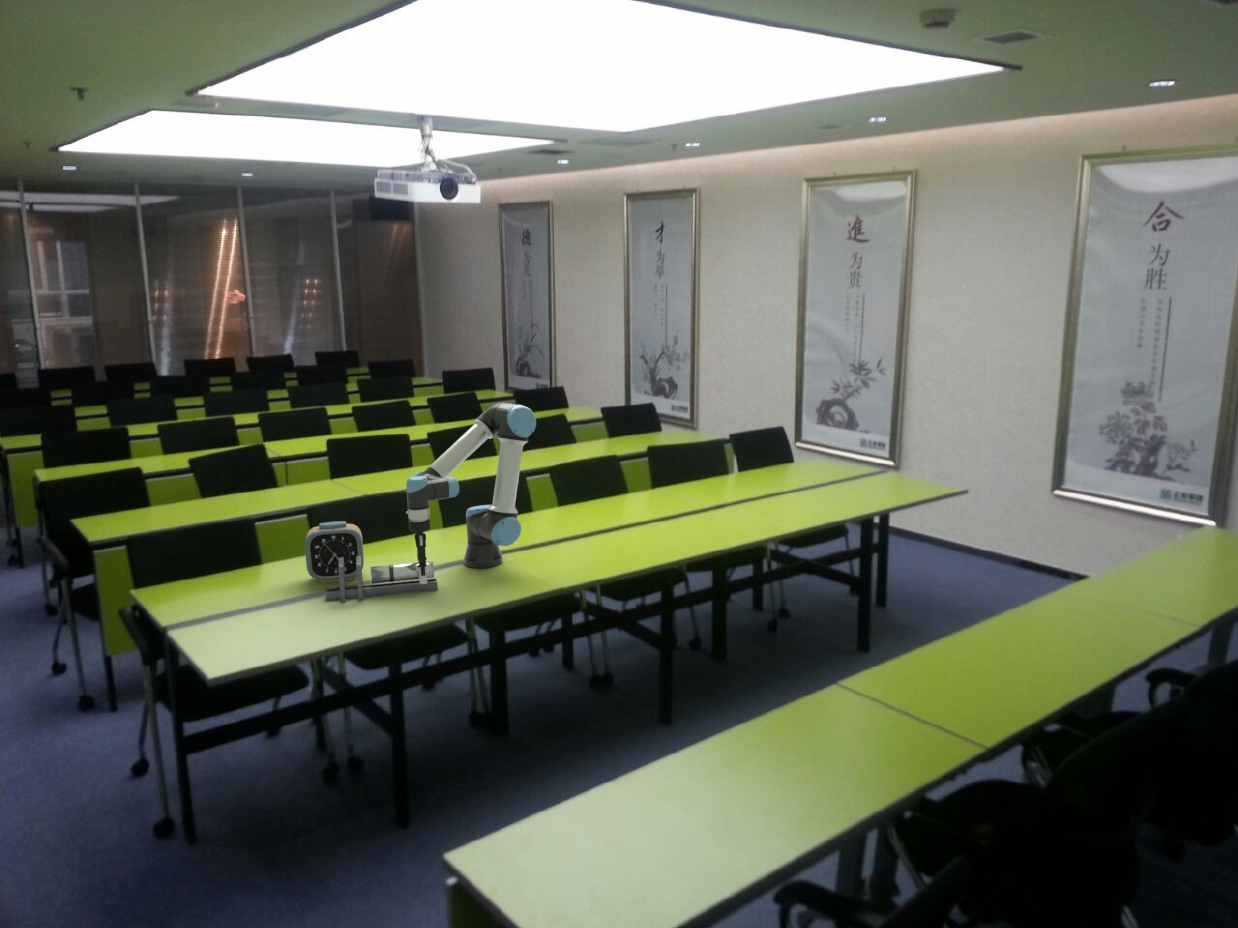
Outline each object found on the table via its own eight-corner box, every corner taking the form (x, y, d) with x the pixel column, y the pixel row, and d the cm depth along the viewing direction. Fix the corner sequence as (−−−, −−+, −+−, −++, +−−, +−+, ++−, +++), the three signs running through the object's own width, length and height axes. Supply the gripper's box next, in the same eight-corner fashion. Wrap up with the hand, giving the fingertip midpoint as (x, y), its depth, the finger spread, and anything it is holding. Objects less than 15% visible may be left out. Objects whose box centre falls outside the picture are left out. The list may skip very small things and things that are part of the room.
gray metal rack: (436, 582, 348) (434, 548, 346) (438, 592, 337) (436, 558, 334) (326, 593, 339) (324, 558, 336) (325, 604, 327) (322, 568, 324)
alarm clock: (307, 585, 348) (303, 529, 344) (309, 577, 357) (304, 522, 353) (364, 579, 353) (360, 524, 349) (364, 572, 362) (360, 518, 358)
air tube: (433, 574, 344) (432, 559, 343) (434, 579, 339) (433, 563, 337) (371, 580, 339) (370, 564, 338) (372, 585, 333) (370, 569, 332)
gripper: (407, 514, 344) (411, 574, 349) (409, 526, 326) (413, 589, 331) (428, 512, 346) (431, 572, 351) (431, 524, 328) (435, 587, 333)
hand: (423, 580), depth 341 cm, fingers closed on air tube, 6 cm apart
